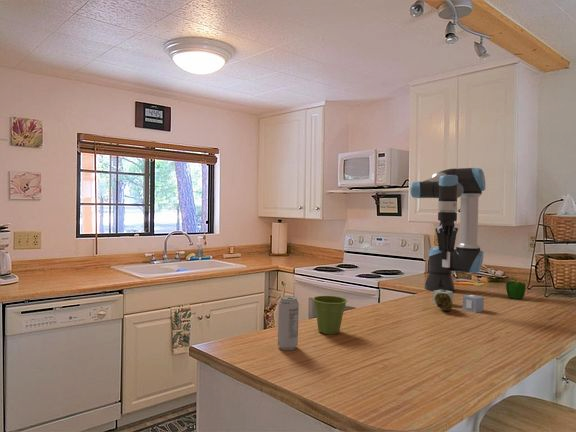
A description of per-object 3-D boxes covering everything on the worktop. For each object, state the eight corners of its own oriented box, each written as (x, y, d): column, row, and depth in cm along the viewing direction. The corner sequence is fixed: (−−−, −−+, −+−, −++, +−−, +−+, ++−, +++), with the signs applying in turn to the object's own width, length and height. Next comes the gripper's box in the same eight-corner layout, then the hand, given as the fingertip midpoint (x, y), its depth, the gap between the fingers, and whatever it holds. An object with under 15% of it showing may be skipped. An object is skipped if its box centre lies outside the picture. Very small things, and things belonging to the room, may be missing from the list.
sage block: (432, 303, 197) (433, 290, 197) (441, 302, 201) (441, 288, 201) (444, 306, 192) (444, 292, 192) (452, 304, 196) (453, 291, 196)
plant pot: (318, 337, 141) (319, 303, 140) (307, 328, 152) (308, 296, 152) (352, 335, 144) (353, 302, 144) (338, 326, 155) (339, 294, 155)
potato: (459, 310, 186) (459, 291, 186) (447, 315, 176) (447, 295, 176) (440, 306, 191) (441, 288, 191) (427, 311, 182) (428, 292, 182)
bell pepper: (528, 300, 209) (529, 279, 209) (511, 300, 210) (511, 279, 209) (519, 297, 218) (520, 277, 218) (503, 296, 218) (503, 276, 218)
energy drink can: (286, 343, 134) (287, 294, 134) (301, 347, 130) (302, 297, 130) (273, 347, 130) (274, 297, 129) (288, 352, 126) (290, 300, 126)
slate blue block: (462, 309, 186) (462, 295, 186) (470, 308, 190) (470, 293, 190) (475, 312, 182) (475, 297, 181) (483, 311, 185) (483, 296, 185)
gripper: (446, 211, 177) (444, 269, 177) (464, 211, 184) (462, 267, 185) (430, 211, 183) (428, 267, 183) (448, 211, 191) (447, 265, 191)
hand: (445, 267), depth 184 cm, fingers closed
